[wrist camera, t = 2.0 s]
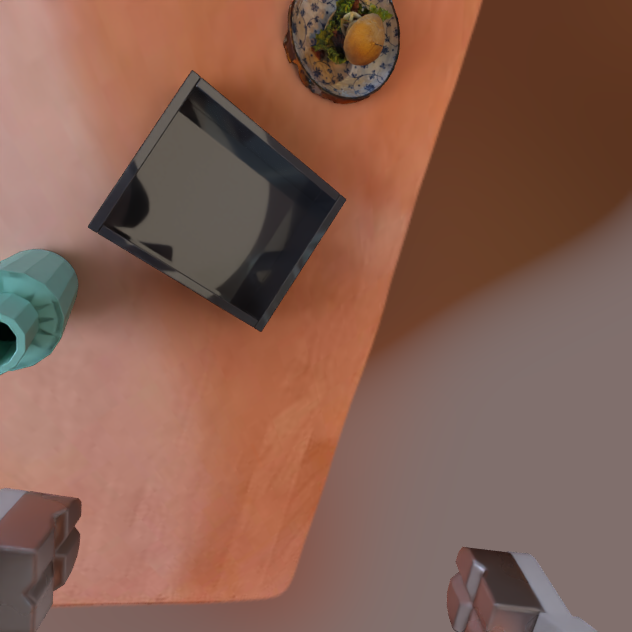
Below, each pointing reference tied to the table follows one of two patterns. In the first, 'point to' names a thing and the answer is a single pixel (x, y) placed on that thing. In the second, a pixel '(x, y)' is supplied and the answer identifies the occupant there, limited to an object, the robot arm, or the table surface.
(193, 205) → the dark open tray box
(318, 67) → the plate with bun salad
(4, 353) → the bottle
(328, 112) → the table surface
